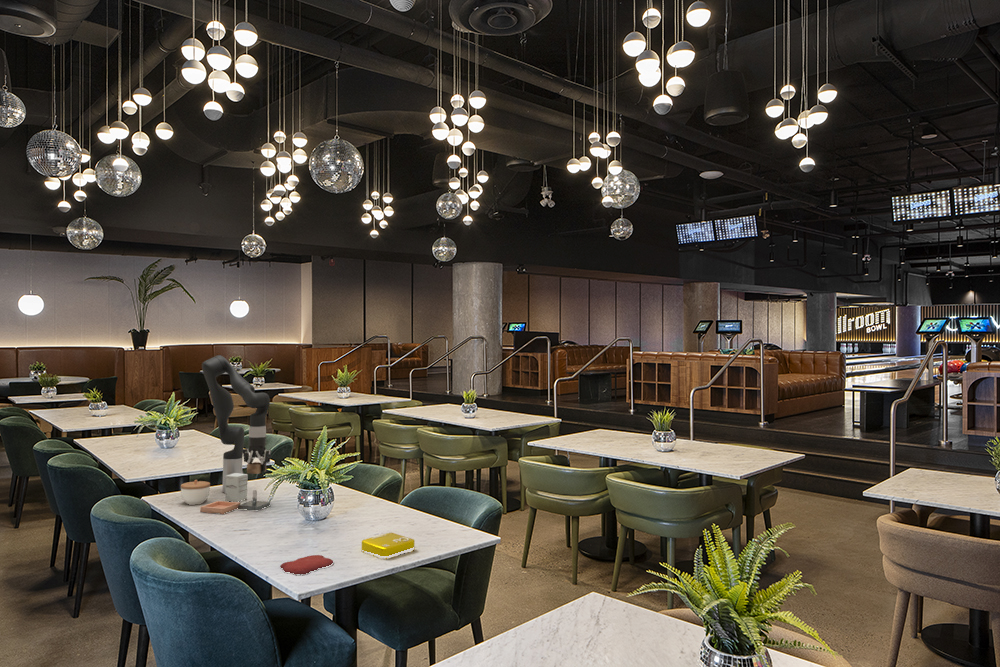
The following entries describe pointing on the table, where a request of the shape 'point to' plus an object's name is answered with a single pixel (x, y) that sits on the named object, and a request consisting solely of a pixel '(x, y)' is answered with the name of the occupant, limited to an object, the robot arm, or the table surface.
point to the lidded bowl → (195, 492)
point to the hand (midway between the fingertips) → (256, 471)
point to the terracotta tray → (219, 507)
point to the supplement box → (236, 487)
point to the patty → (306, 564)
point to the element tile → (387, 544)
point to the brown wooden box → (254, 468)
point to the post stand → (254, 503)
